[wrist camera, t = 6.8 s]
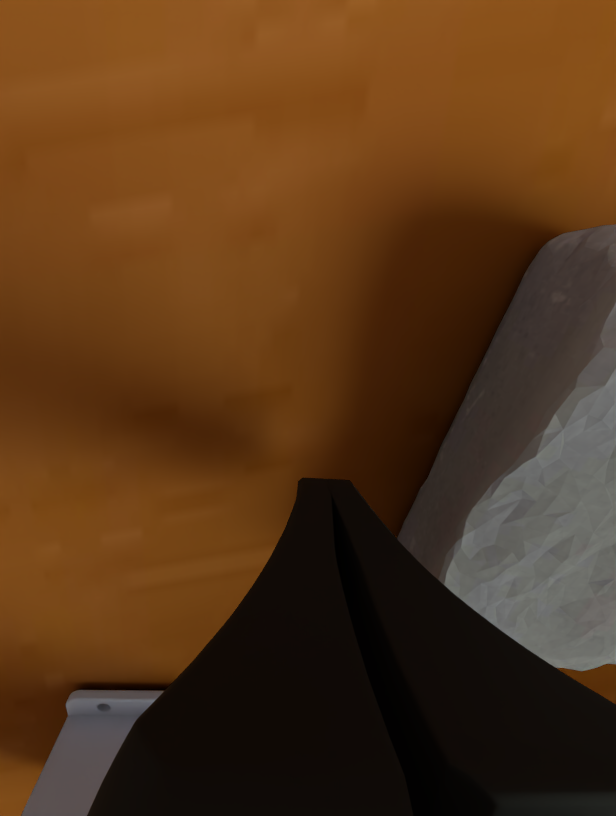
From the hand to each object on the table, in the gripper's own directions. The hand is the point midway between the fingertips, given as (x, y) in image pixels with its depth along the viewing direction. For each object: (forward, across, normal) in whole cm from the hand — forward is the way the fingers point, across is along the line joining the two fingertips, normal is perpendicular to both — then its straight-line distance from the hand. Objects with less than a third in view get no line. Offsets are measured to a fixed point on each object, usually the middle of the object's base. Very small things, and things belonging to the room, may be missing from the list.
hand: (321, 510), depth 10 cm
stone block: (+2, -8, -1) cm, 9 cm away
